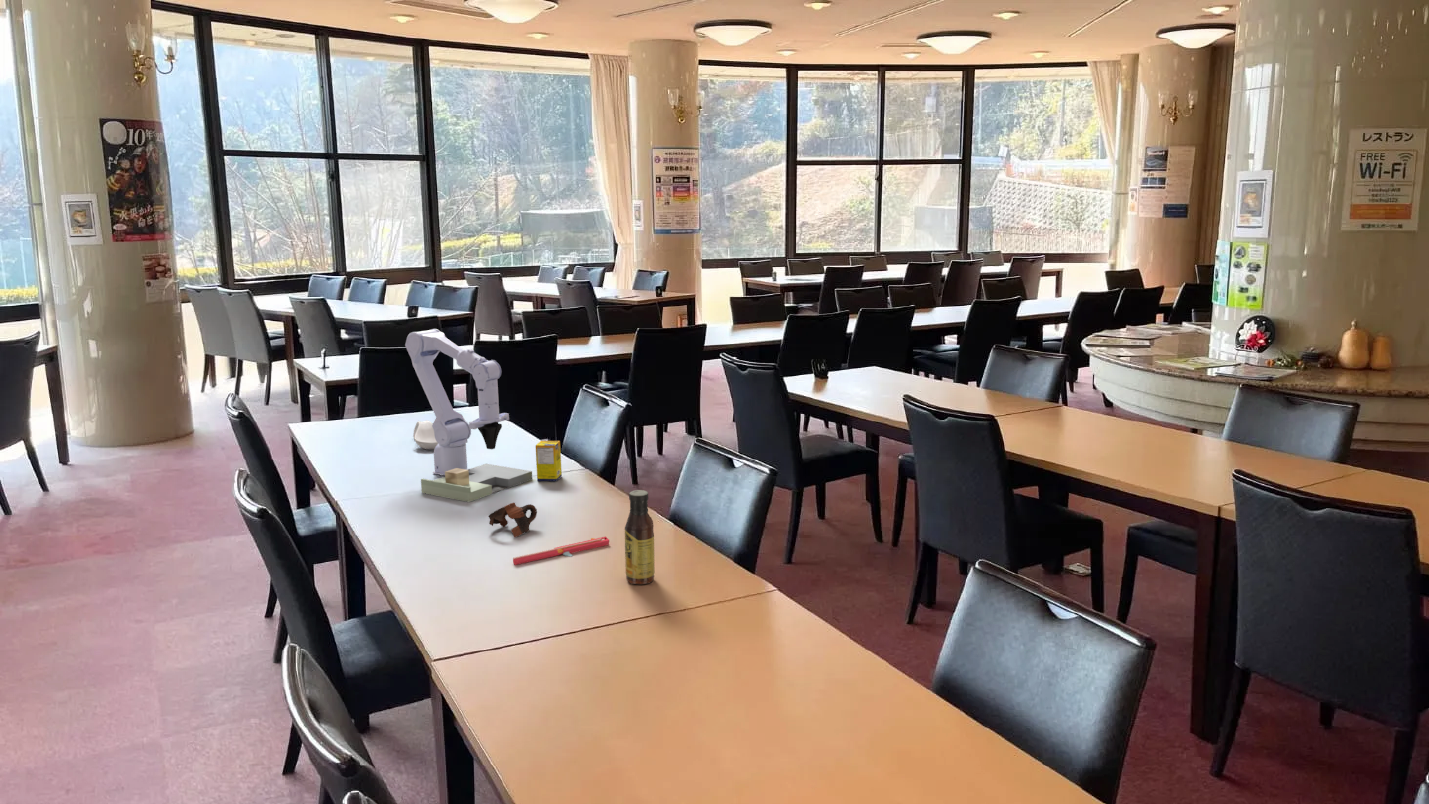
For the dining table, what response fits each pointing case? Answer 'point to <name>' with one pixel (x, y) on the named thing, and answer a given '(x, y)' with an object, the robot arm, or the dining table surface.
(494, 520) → the pottery mug
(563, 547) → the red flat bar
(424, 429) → the spoon rest
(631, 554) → the sauce bottle
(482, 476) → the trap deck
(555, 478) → the supplement box
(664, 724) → the dining table surface
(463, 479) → the maple block
